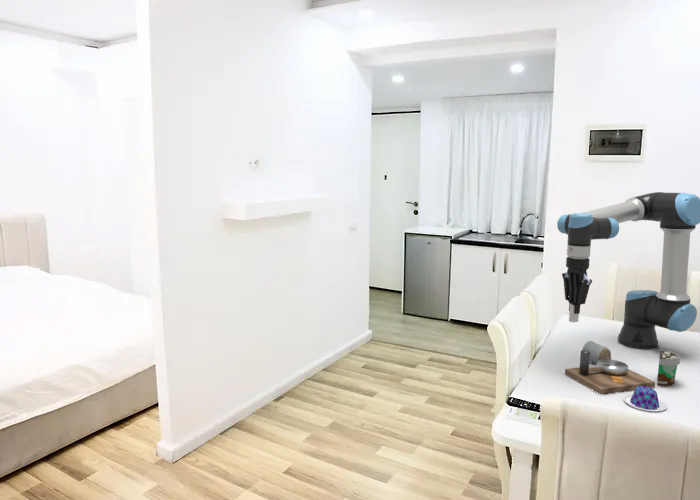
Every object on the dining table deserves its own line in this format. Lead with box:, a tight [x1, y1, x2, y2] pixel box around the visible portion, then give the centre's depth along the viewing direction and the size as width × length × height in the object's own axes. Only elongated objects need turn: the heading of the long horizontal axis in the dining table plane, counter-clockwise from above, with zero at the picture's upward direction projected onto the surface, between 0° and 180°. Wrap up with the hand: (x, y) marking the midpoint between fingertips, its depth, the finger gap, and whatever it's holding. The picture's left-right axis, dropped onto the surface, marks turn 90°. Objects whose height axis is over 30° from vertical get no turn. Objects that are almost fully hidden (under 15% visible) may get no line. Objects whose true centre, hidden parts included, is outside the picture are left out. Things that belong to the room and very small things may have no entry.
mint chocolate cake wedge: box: [656, 348, 681, 387], centre depth 179 cm, size 12×6×10 cm, turn 148°
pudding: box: [622, 386, 668, 412], centre depth 163 cm, size 12×12×5 cm
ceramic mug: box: [581, 340, 613, 365], centre depth 198 cm, size 11×8×8 cm
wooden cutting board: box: [564, 366, 656, 395], centre depth 181 cm, size 22×18×2 cm
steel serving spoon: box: [579, 349, 629, 375], centre depth 183 cm, size 18×10×8 cm, turn 105°
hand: (573, 321), depth 185 cm, fingers closed
